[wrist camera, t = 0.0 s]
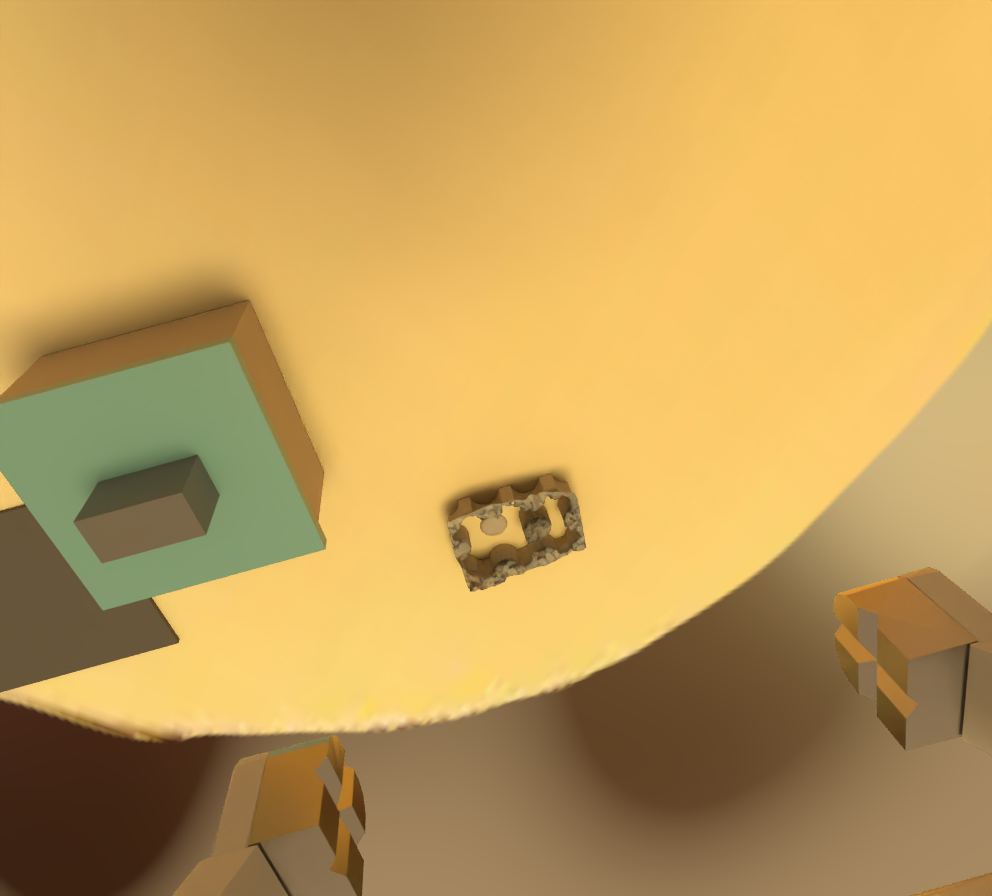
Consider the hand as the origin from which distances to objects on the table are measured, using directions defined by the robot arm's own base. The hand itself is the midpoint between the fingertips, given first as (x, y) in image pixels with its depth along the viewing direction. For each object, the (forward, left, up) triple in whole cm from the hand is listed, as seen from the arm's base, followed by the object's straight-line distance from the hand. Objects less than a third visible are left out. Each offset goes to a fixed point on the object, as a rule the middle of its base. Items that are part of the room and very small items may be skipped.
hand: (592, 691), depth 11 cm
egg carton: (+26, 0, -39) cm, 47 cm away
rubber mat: (+21, -38, -39) cm, 58 cm away
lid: (+10, -20, -32) cm, 39 cm away
